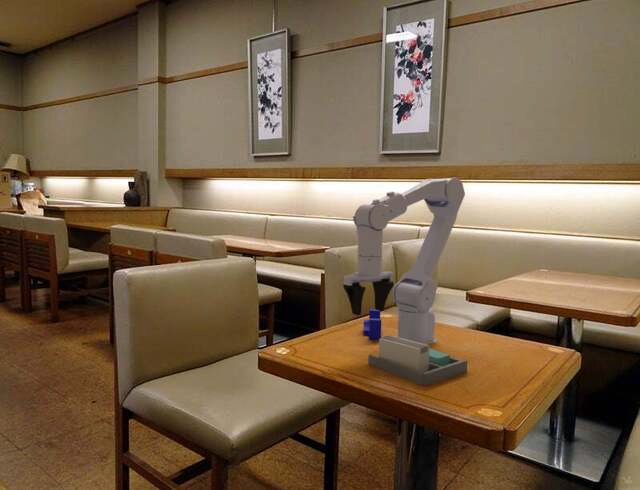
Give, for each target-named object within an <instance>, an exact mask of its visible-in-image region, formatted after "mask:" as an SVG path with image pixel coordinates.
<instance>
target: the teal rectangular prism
mask: <svg viewBox="0 0 640 490" xmlns="http://www.w3.org/2000/svg"><path fill="white" fill-rule="evenodd" d="M450 357H451V354H449V353H445V352H442V351H438V350H436V349H432V348H429V362H430V363H433V364H436V365H439V366H442V367H443V366H446V365H449V364H450Z"/></svg>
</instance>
